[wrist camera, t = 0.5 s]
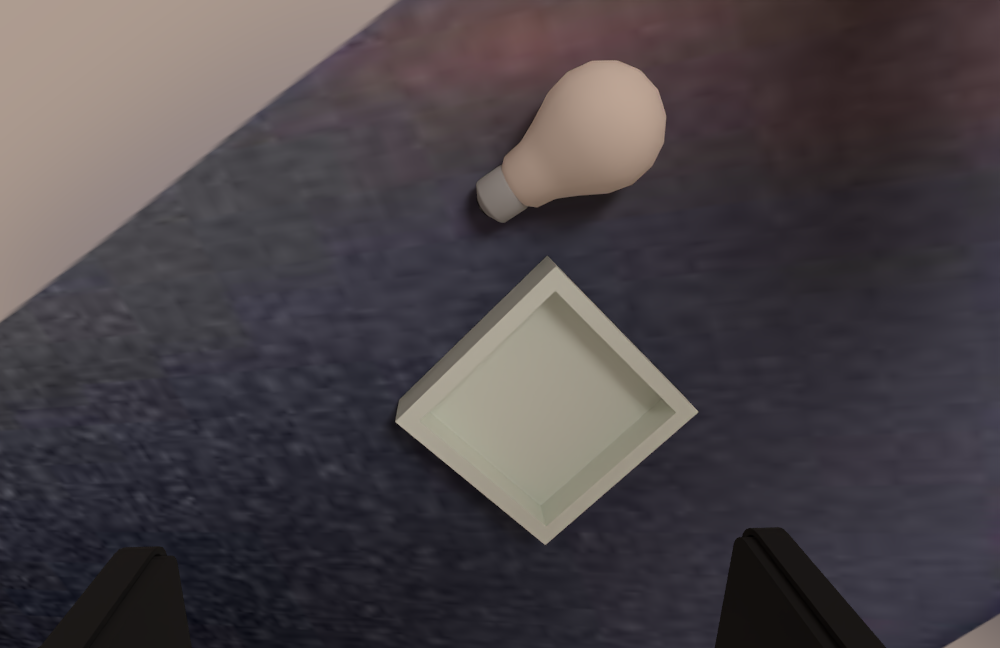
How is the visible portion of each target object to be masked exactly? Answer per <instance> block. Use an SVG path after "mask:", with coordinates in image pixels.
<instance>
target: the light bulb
mask: <svg viewBox="0 0 1000 648" xmlns="http://www.w3.org/2000/svg"><path fill="white" fill-rule="evenodd" d="M665 126H666V113H665V110H664V107H663V104H662V100H661V97H660V94H659V91H658V89H657V88H656V87H655V86H654V85H653V84H652V82H651V81H650V80H649V79H648V78H647V77H646V76H645V75H644V74H643V72H642V71H641V70H639V69H637V68H634V67H632V66H630V65H627V64H625V63H622V62H620V61H618V60H603V61H590V62H588V63H586V64H584V65H581V66H579V67H577V68H575V69H573V70H570V71H568V72H567V73H566V74H565V75H564V76H563V77H562V78H561V79H560V80H559V81H558V82H557V83H556V84H555V86H554V87H553V88H552V89H551V90H550V91H549V92H548V94H547V95H546V97H545V99H544V101H543V103H542V105H541V107H540V109H539V111H538V113H537V114H536V116H535V118H534V120H533V122H532V124H531V125H530V127H529V129H528V130H527V132H526V134H525V135H524V137H523V139H522V140H521V142H520V143H519V144H518V145H516V146H515V147H514V148H513V149H512V150H511V151H510V152H509V153H508V154H507V155H506V156H505V157H504V160H503V164H502V165H500V166H498V167H497V168H495V169H494V170H493V171H491V172H490V173H488V174H487V175H485V176H484V177H482V178H481V179H480V180H479V181H478V182H477V183H476V189H477V202H478V205H479V207H480V209H481V211H482V212H483V213H484V214H485V215H487V216H489V217H491V218H493V219H495V220H496V221H498V222H502V223H505V222H506V221H508V220H510V219H511V218H513V217H514V216H516V215H517V214H519V213H520V212H522V211H524V210H525V209H527V207H528V206H531V207H539V206H541V205H544V204H546V203H548V202H550V201H552V200H554V199H558V198H565V197H572V196H580V195H594V194H608V193H611V192H614V191H616V190H619V189H622V188H624V187H627V186H630V185H632V184H633V183H635V182H636V181H637V180H638V179H639V178H640V177H641V176H642V175H643V174H644V173H645V172H647V171H648V170H649V169H650V168H651V167H652V166H653V164H654V162H655V160H656V158H657V156H658V154H659V152H660V150H661V148H662V145H663V143H664V137H665Z"/></svg>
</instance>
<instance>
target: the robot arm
mask: <svg viewBox="0 0 1000 648" xmlns="http://www.w3.org/2000/svg"><path fill="white" fill-rule="evenodd" d="M38 648H192V647H191V641H190V635H189V629H188V623H187V617H186V611H185V605H184V599H183V594H182V588H181V582H180V576H179V570H178V564H177V560H176V558H175V557H174V556H167V554H166V551H165V550H164V548H163V547H126V548H122V549H119V550H118V551H117V552H116V553H115V554H114V555H113V557H112V558H111V559H110V560H109V562H108V563H107V564H106V565H105V567H104V568H103V569H102V570H101V572H100V573H99V574H98V575H97V577H96V578H95V579H94V580H93V582H92V583H91V584H90V585H89V587H88V588H87V589H86V590H85V592H84V593H83V594H82V595H81V597H80V598H79V599H78V600H77V602H76V603H75V604H74V605H73V607H72V608H71V609H70V610H69V612H68V613H67V614H66V615H65V617H64V618H63V619H62V620H61V622H60V623H59V624H58V625H57V627H56V628H55V629H54V630H53V632H52V633H51V634H50V635H49V637H48V638H47V639H46V640H45V642H44V643H43V644H42V645H41V646H40V647H38ZM715 648H886V647H885V646H884V645H883V644H882V642H881V641H880V640H879V639H878V638H877V637H876V635H875V634H874V633H873V632H872V631H871V630H870V628H869V627H868V626H867V625H866V624H865V623H864V621H863V620H862V619H861V618H860V617H859V616H858V614H857V613H856V612H855V611H854V610H853V609H852V607H851V606H850V605H849V604H848V603H847V602H846V600H845V599H844V598H843V597H842V596H841V595H840V593H839V592H838V591H837V590H836V589H835V588H834V586H833V585H832V584H831V583H830V582H829V581H828V580H827V578H826V577H825V576H824V575H823V574H822V573H821V571H820V570H819V569H818V568H817V567H816V566H815V564H814V563H813V562H812V561H811V560H810V559H809V557H808V556H807V555H806V554H805V553H804V552H803V550H802V549H801V548H800V547H799V546H798V545H797V543H796V542H795V541H794V540H793V539H792V538H791V536H790V535H789V534H788V533H787V532H786V531H785V530H784V529H782V528H779V527H774V528H749V529H746V530H745V532H744V533H743V536H742V537H739V538H737V539H736V540H735V542H734V546H733V552H732V557H731V562H730V568H729V573H728V579H727V584H726V590H725V595H724V601H723V606H722V612H721V617H720V622H719V628H718V633H717V639H716V644H715Z"/></svg>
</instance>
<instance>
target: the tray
mask: <svg viewBox="0 0 1000 648" xmlns="http://www.w3.org/2000/svg"><path fill="white" fill-rule="evenodd" d="M697 413H698V411H697V410H696V409H695V408H694V406H693V405H692V404H691V403H690V402H689V401H688V400H687V399H686V398H685V397H684V396H683V394H682V393H681V392H680V391H679V390H678V389H677V388H676V387H675V386H674V385H673V384H672V383H671V382H670V381H669V380H668V379H667V378H666V377H665V376H664V375H663V374H662V373H661V372H660V371H659V370H658V369H657V368H656V367H655V366H654V365H653V364H652V363H651V361H650V360H649V359H648V358H647V357H646V356H645V355H644V354H643V353H642V352H641V351H640V350H639V349H638V348H637V347H636V346H635V345H634V344H633V343H632V342H631V341H630V340H629V339H628V338H627V337H626V336H625V335H624V334H623V333H622V332H621V331H620V330H619V329H618V328H617V327H616V326H615V325H614V323H613V322H612V321H611V320H610V319H609V318H608V317H607V316H606V315H605V314H604V313H603V312H602V311H601V310H600V309H599V308H598V307H597V306H596V305H595V304H594V303H593V302H592V301H591V300H590V299H589V298H588V297H587V296H586V295H585V294H584V293H583V292H582V291H581V290H580V289H579V288H578V287H577V286H576V284H575V283H574V282H573V281H572V280H571V279H570V278H569V277H568V276H567V275H566V274H565V273H564V272H563V271H562V270H561V269H560V268H559V267H558V266H557V265H556V264H555V263H554V262H553V261H552V260H551V259H550V258H549V257H548V256H546V257H545V258H544V259H543V260H542V261H541V262H540V263H539V264H538V265H537V266H536V267H535V268H534V269H533V270H532V271H531V272H530V273H529V274H528V275H527V276H526V277H525V278H524V279H523V280H522V281H521V282H520V283H519V284H518V285H517V286H515V287H514V288H513V289H512V290H511V291H510V292H509V293H508V294H507V295H506V296H505V297H504V298H503V299H502V300H501V301H500V302H499V303H498V304H497V305H496V306H495V307H494V308H493V309H492V310H491V311H490V312H489V313H488V314H487V315H486V316H485V317H484V318H483V319H482V320H481V321H480V322H479V323H477V324H476V325H475V326H474V327H473V328H472V329H471V330H470V331H469V332H468V333H467V334H466V335H465V336H464V337H463V338H462V339H461V340H460V341H459V342H458V343H457V344H456V345H455V346H454V347H453V348H452V349H451V350H450V351H449V352H448V353H447V354H446V355H445V356H444V357H443V358H442V359H441V360H440V361H438V362H437V363H436V364H435V365H434V366H433V367H432V368H431V369H430V370H429V371H428V372H427V373H426V374H425V375H424V376H423V377H422V378H421V379H420V380H419V381H418V382H417V383H416V384H415V385H414V386H413V387H412V388H411V389H410V390H409V391H408V392H407V393H406V394H405V395H404V396H403V397H402V398H400V399H399V403H398V409H397V414H396V420H395V422H396V423H397V424H398V425H400V426H401V427H402V428H403V429H405V430H406V431H407V432H408V433H409V434H411V435H412V436H413V437H414V438H415V439H417V440H418V441H419V442H420V443H422V444H423V445H424V446H425V447H426V448H428V449H429V450H430V451H431V452H433V453H434V454H435V455H436V456H437V457H439V458H440V459H441V460H442V461H444V462H445V463H446V464H447V465H448V466H450V467H451V468H452V469H453V470H454V471H456V472H457V473H458V474H459V475H461V476H462V477H463V478H464V479H465V480H467V481H468V482H469V483H470V484H472V485H473V486H474V487H475V488H476V489H478V490H479V491H480V492H481V493H483V494H484V495H485V496H486V497H487V498H489V499H490V500H491V501H492V502H493V503H495V504H496V505H497V506H498V507H500V508H501V509H502V510H503V511H504V512H506V513H507V514H508V515H509V516H511V517H512V518H513V519H514V520H515V521H517V522H518V523H519V524H520V525H521V526H523V527H524V528H525V529H526V530H528V531H529V532H530V533H531V534H532V535H534V536H535V537H536V538H537V539H539V540H540V541H541V542H542V543H543V544H545V545H546V544H547V543H548V542H549V541H551V540H552V539H553V538H554V537H555V536H556V535H557V534H559V533H560V532H561V531H562V530H563V529H564V528H566V527H567V526H568V525H569V524H570V523H571V522H572V521H574V520H575V519H576V518H577V517H578V516H579V515H581V514H582V513H583V512H584V511H585V510H586V509H587V508H589V507H590V506H591V505H592V504H593V503H594V502H595V501H597V500H598V499H599V498H600V497H601V496H602V495H604V494H605V493H606V492H607V491H608V490H609V489H610V488H612V487H613V486H614V485H615V484H616V483H617V482H619V481H620V480H621V479H622V478H623V477H624V476H625V475H627V474H628V473H629V472H630V471H631V470H632V469H634V468H635V467H636V466H637V465H638V464H639V463H640V462H642V461H643V460H644V459H645V458H646V457H647V456H648V455H650V454H651V453H652V452H653V451H654V450H655V449H657V448H658V447H659V446H660V445H661V444H662V443H663V442H665V441H666V440H667V439H668V438H669V437H670V436H672V435H673V434H674V433H675V432H676V431H677V430H678V429H680V428H681V427H682V426H683V425H684V424H685V423H687V422H688V421H689V420H690V419H691V418H692V417H693V416H695V415H696V414H697Z"/></svg>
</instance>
